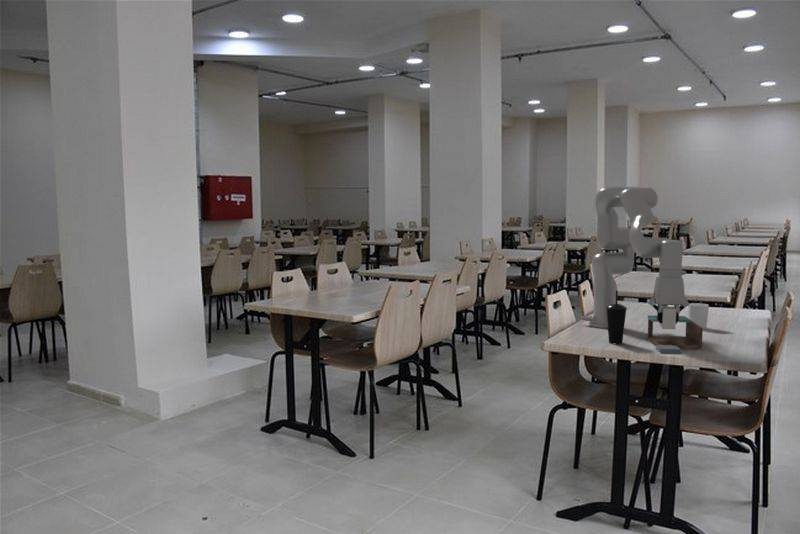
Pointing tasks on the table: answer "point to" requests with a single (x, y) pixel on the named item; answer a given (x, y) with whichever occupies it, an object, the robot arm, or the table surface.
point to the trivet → (668, 349)
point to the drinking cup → (616, 321)
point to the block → (668, 318)
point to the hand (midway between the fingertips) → (667, 322)
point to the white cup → (698, 314)
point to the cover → (681, 319)
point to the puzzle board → (679, 337)
